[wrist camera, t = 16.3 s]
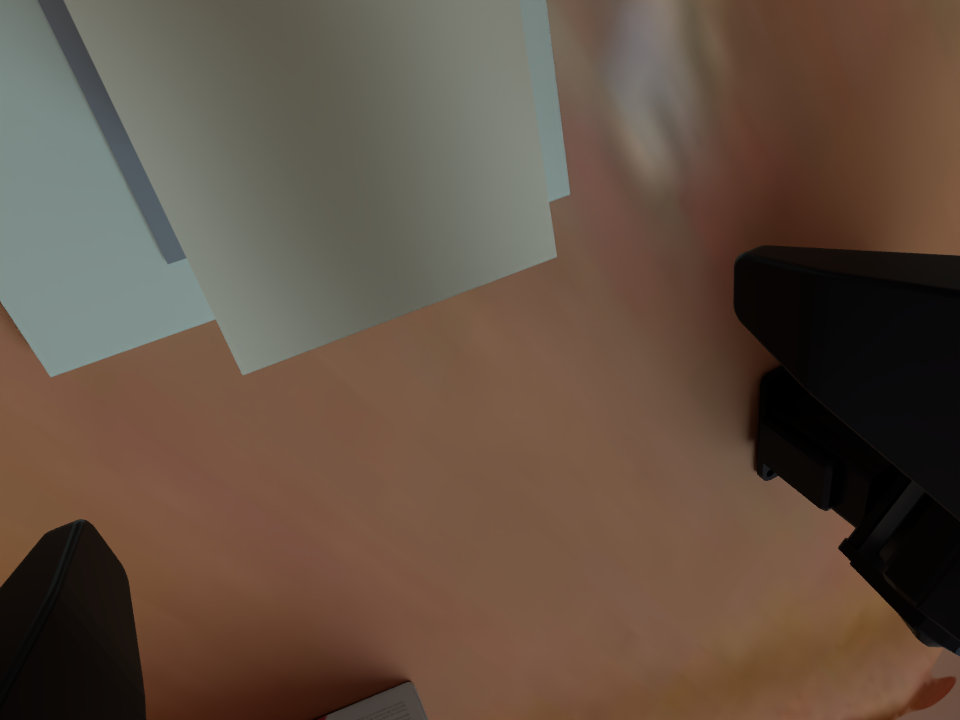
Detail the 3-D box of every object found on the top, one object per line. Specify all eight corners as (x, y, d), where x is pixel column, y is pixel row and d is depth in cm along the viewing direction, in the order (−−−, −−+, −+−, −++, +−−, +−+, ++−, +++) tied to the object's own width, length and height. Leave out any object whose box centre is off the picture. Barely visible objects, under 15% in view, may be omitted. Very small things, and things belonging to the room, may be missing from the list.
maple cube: (384, -94, 12) (500, -130, 8) (446, 180, 15) (556, 257, 11) (89, -25, 11) (50, -26, 7) (217, 257, 14) (242, 375, 10)
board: (490, -295, 16) (511, -311, 15) (555, 186, 23) (573, 196, 22) (-288, -168, 13) (-324, -179, 12) (54, 360, 19) (49, 380, 18)
